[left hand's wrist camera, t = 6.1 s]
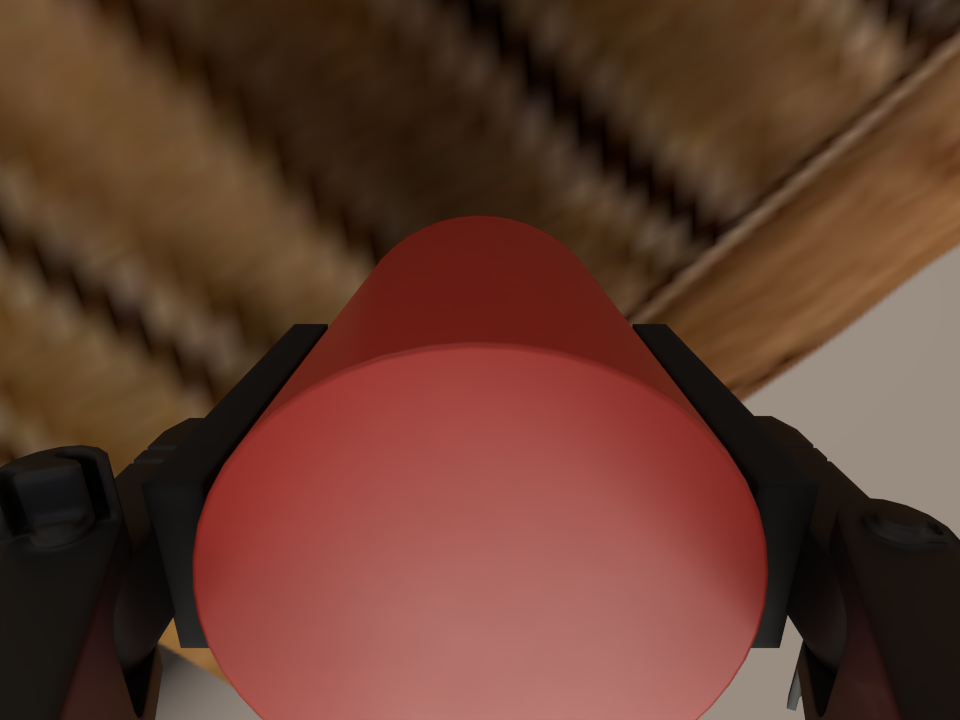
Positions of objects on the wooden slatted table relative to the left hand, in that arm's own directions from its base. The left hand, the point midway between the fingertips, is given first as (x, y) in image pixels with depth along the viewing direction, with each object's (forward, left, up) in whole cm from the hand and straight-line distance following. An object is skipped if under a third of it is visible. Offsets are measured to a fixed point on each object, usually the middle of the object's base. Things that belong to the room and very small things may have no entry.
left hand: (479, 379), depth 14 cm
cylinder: (0, 0, -2) cm, 2 cm away
